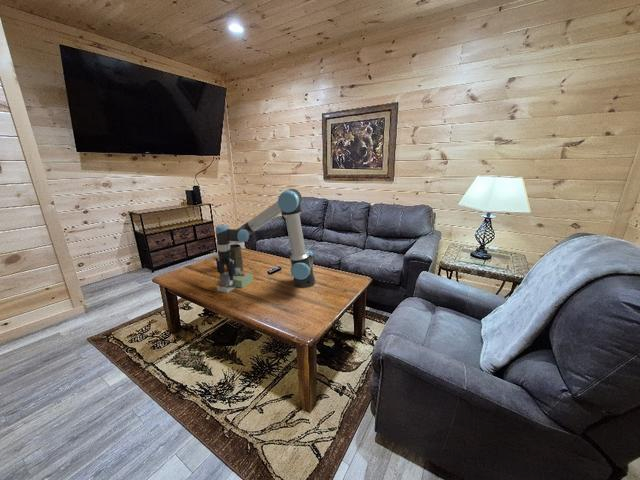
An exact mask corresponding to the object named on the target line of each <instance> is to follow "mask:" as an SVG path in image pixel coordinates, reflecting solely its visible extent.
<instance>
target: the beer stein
mask: <svg viewBox="0 0 640 480" xmlns="http://www.w3.org/2000/svg"><path fill="white" fill-rule="evenodd" d="M230 251H231V255H230V258H231V260H235V262H234V266H235V268H240V270H241V272H243V270H244V264H243V255H242V246H241V244H238V243H236V244H230Z"/></svg>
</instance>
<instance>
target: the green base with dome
mask: <svg viewBox="0 0 640 480" xmlns="http://www.w3.org/2000/svg"><path fill="white" fill-rule="evenodd" d="M233 277H234V283H233V284H232V285H229V286H228V287H224V286H220V285H217V286H216V290H217V292H221V293H225V294H228V293H230V292H231V291H233V290H234V289H236V288H241V289H243V288H244V287H246V286H247V285H249V284H251V283H253V282H254V275H253V273H248V272H245V271H241V270H240V268H235V274H234V275H233Z"/></svg>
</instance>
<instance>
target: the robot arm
mask: <svg viewBox="0 0 640 480" xmlns="http://www.w3.org/2000/svg"><path fill="white" fill-rule="evenodd" d="M302 198H303V197H302V195H301V192H300V191H299V190H298V189H295V188H289V189H287V190H284V191H282V192H281V193H280V195H279V196H278V198H277V201H275V202H274V203H273V204H272V205H270V206H269V207H267V208H266V209H264V210H263V211H262V212H260V213H258V214H257V215H256V216H254V217H253V218H251V219H249V220H248V221H246V222H245V223H244V224H243V225H241V226H240V227H238V228H237V229H236V228H232V229H231V228H229V226H228V225H227V224H221V225H217V226H216V227H215V235H216V236H215V237H216V244H217V245H216V246H217V247H216V248H217V256H218V257H216V258H215V262H216V272H217V273H218V274H219V276H220V275H222V274H224V273H225V267H226V270H227V272H228V274H229V276H228V281H229V285H232V284H233V282H232V280H233V275H234V274H235V266H234V262H235V260H231V258H230V255H231V251H230V245H231V243H230V242H240V243H243V242H248V241H249V239H250V235H252V234H253V233H255V231H257V230H259V229H260V228H261V227H263V226H265V225H266V224H268V223H269V222H271V221H272V220H273V219H276V217H278V216H279V215H282V216H283V217H284V219H285V223H286V229H287V233H288V234H287V235H288V240H289V241H288V242H289V247H290V251H291V252H290V253H291V256H290V257H289V260H290V265H291V267H290V274H291V276H292V277H293V281H292V282H293V285H294V286H295V287H298V288H309V287H312V286H314V285H315V284H316V277H315V275H314V252H313V251H311V250H310V249H306V246H305V240H304V233H303V228H302V223H301V222H302V221H301V214H302V206H301V203H302V200H303V199H302Z"/></svg>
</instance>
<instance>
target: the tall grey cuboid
mask: <svg viewBox="0 0 640 480" xmlns="http://www.w3.org/2000/svg"><path fill="white" fill-rule="evenodd" d="M228 276H229V274H228V271H226V272H224V274H222V275H220V274H219V284H220V285H219V286H221V287H228V286H229V281H228ZM232 282H233V283H234V277H233V280H232Z"/></svg>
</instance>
